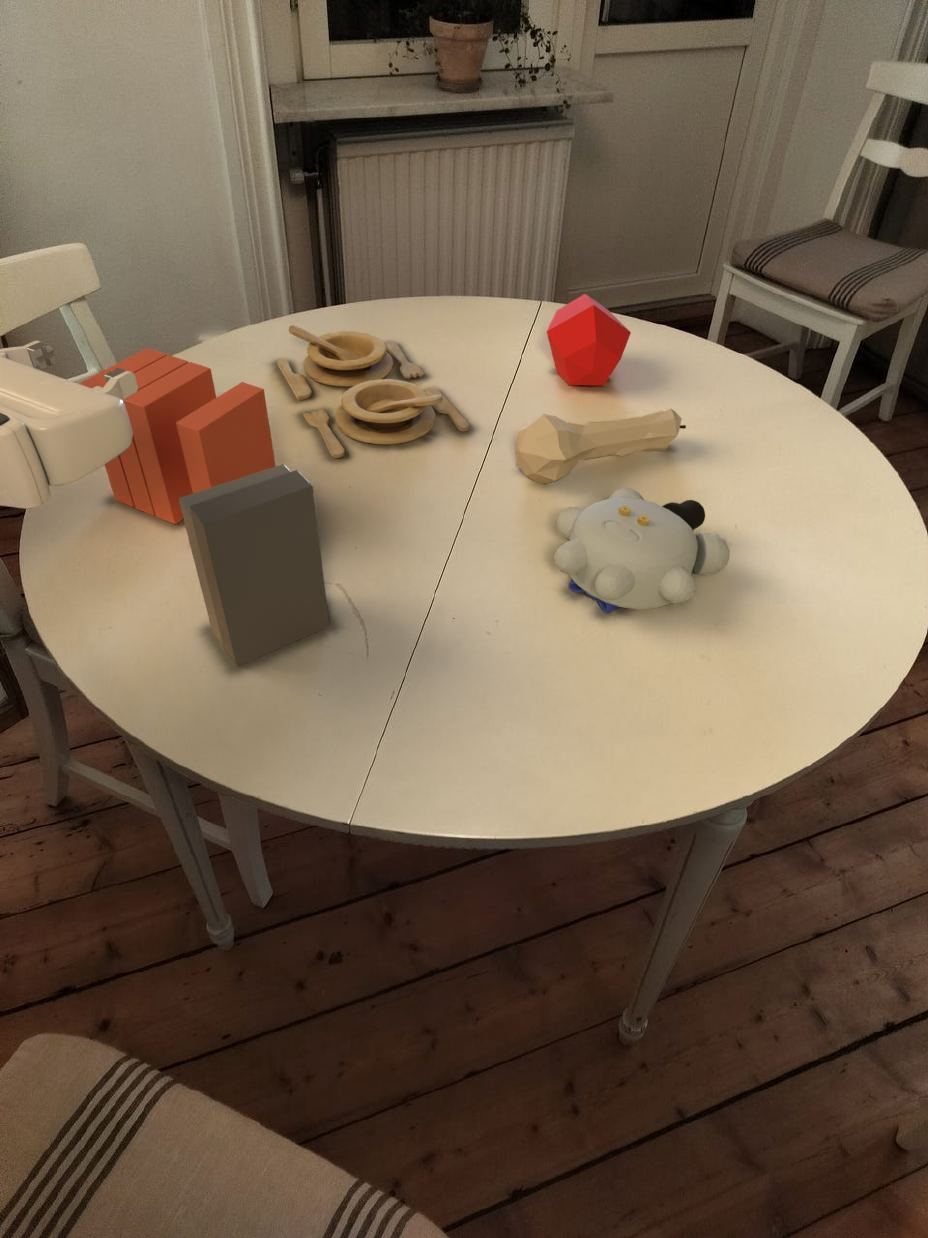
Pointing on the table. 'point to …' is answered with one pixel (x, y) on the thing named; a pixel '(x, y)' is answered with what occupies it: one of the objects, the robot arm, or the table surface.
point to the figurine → (637, 551)
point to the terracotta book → (227, 438)
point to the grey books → (258, 561)
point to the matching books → (156, 431)
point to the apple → (586, 342)
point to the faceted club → (588, 441)
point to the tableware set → (367, 390)
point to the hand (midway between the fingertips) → (88, 364)
